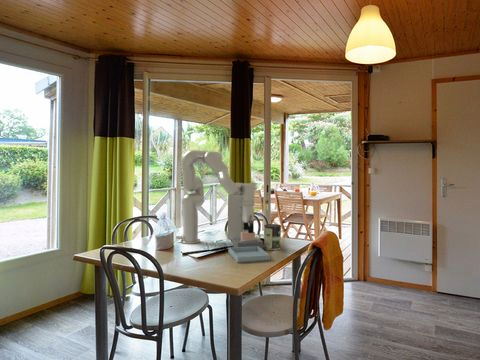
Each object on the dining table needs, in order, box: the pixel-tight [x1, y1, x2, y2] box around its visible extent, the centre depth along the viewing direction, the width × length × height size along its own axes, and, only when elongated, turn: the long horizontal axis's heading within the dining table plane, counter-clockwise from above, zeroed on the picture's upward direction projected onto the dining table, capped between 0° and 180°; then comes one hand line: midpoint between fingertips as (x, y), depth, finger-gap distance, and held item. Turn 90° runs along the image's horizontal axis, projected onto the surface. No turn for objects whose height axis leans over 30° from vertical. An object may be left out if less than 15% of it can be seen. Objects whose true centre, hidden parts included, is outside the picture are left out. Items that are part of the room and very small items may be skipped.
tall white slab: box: [227, 194, 248, 241], centre depth 228 cm, size 14×6×30 cm, turn 73°
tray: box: [228, 246, 271, 264], centre depth 187 cm, size 18×20×3 cm
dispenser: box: [232, 236, 264, 250], centre depth 205 cm, size 16×12×6 cm
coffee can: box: [263, 223, 282, 251], centre depth 206 cm, size 10×10×14 cm
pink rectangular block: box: [241, 231, 256, 240], centre depth 205 cm, size 8×3×10 cm, turn 106°
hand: (248, 231), depth 205 cm, fingers open, 9 cm apart
